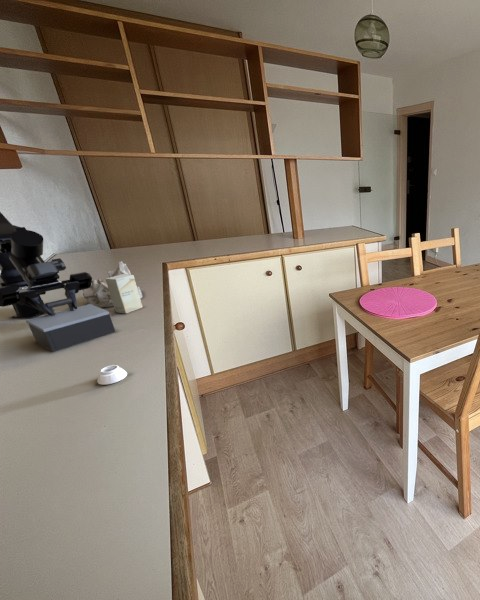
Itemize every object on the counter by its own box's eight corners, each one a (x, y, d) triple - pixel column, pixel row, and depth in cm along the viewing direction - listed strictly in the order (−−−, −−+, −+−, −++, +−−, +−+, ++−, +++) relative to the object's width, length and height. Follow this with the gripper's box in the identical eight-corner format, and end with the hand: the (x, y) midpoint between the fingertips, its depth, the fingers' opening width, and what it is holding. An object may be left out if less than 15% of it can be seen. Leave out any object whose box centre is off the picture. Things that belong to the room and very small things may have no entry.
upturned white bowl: (129, 378, 72) (124, 370, 75) (126, 368, 71) (120, 360, 74) (101, 389, 68) (96, 380, 71) (96, 377, 67) (92, 369, 70)
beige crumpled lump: (144, 289, 127) (131, 253, 121) (141, 303, 115) (125, 264, 109) (94, 298, 120) (77, 260, 113) (84, 314, 107) (64, 273, 101)
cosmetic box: (126, 314, 105) (115, 279, 101) (115, 312, 106) (103, 278, 102) (143, 307, 111) (134, 274, 107) (133, 306, 112) (123, 273, 107)
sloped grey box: (36, 342, 86) (28, 323, 84) (98, 324, 98) (92, 307, 96) (52, 352, 82) (44, 332, 80) (115, 331, 93) (109, 314, 91)
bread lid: (26, 322, 85) (19, 307, 83) (90, 306, 96) (85, 292, 94) (44, 332, 80) (37, 315, 78) (109, 313, 91) (104, 299, 90)
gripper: (-22, 257, 77) (13, 307, 76) (78, 245, 92) (108, 286, 92) (-18, 282, 83) (15, 329, 82) (75, 267, 98) (103, 306, 98)
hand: (63, 311), depth 88 cm, fingers closed on bread lid, 5 cm apart
